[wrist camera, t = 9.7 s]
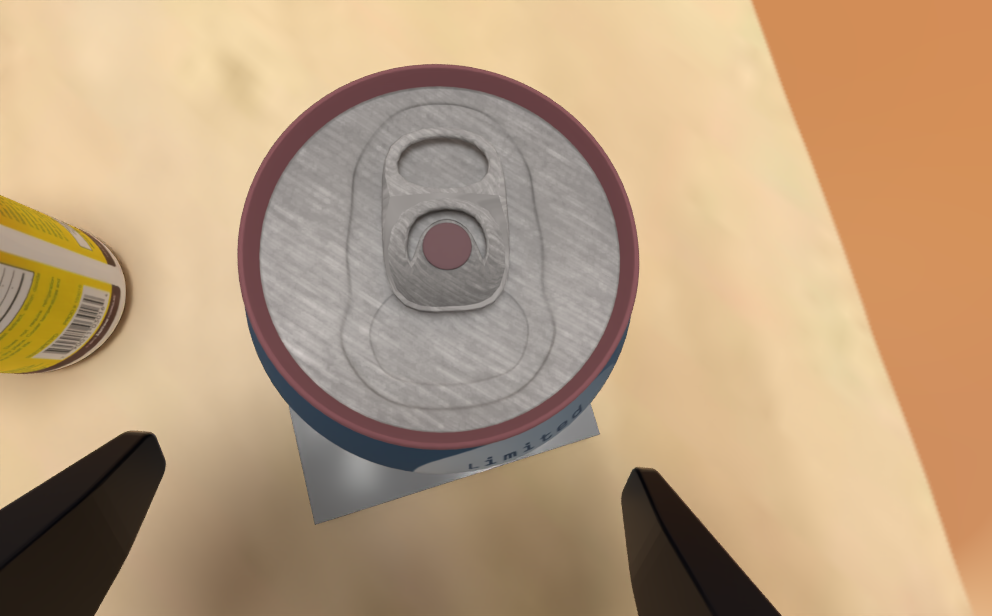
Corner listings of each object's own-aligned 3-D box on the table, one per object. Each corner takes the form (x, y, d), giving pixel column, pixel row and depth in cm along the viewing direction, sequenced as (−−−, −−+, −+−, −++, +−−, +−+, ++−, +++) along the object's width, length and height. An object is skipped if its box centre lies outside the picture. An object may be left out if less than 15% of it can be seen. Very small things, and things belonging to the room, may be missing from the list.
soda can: (538, 420, 18) (709, 476, 7) (355, 433, 18) (173, 523, 6) (526, 247, 19) (652, 31, 8) (353, 252, 19) (197, 18, 7)
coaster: (595, 432, 19) (599, 434, 18) (319, 520, 17) (314, 524, 17) (518, 182, 21) (520, 176, 20) (257, 241, 19) (251, 237, 18)
